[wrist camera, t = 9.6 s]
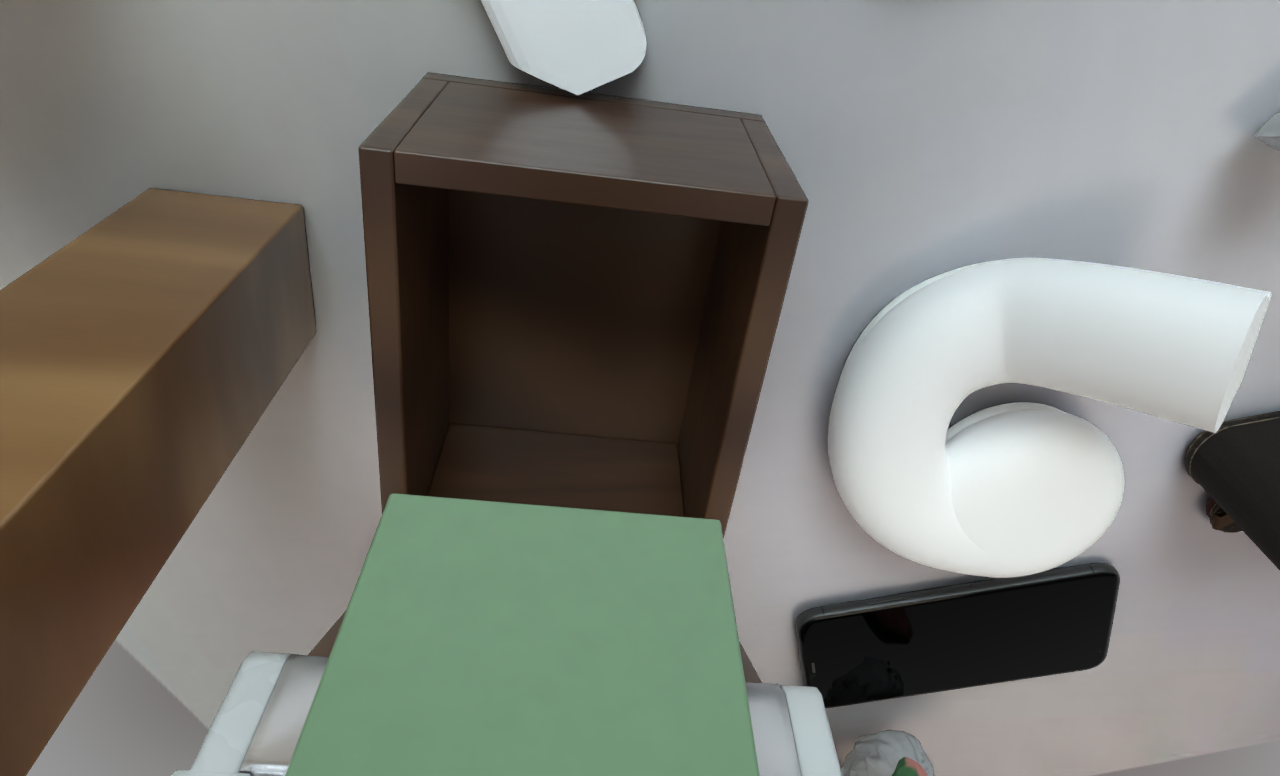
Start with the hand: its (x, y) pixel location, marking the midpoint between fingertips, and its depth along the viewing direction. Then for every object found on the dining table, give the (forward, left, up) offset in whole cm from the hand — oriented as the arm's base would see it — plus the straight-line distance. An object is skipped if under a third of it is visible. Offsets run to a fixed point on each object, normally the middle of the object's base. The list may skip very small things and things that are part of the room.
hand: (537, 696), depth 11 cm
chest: (+3, 0, -19) cm, 20 cm away
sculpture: (+7, +16, -19) cm, 26 cm away
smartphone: (+20, +20, -19) cm, 34 cm away
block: (0, 0, -1) cm, 1 cm away
